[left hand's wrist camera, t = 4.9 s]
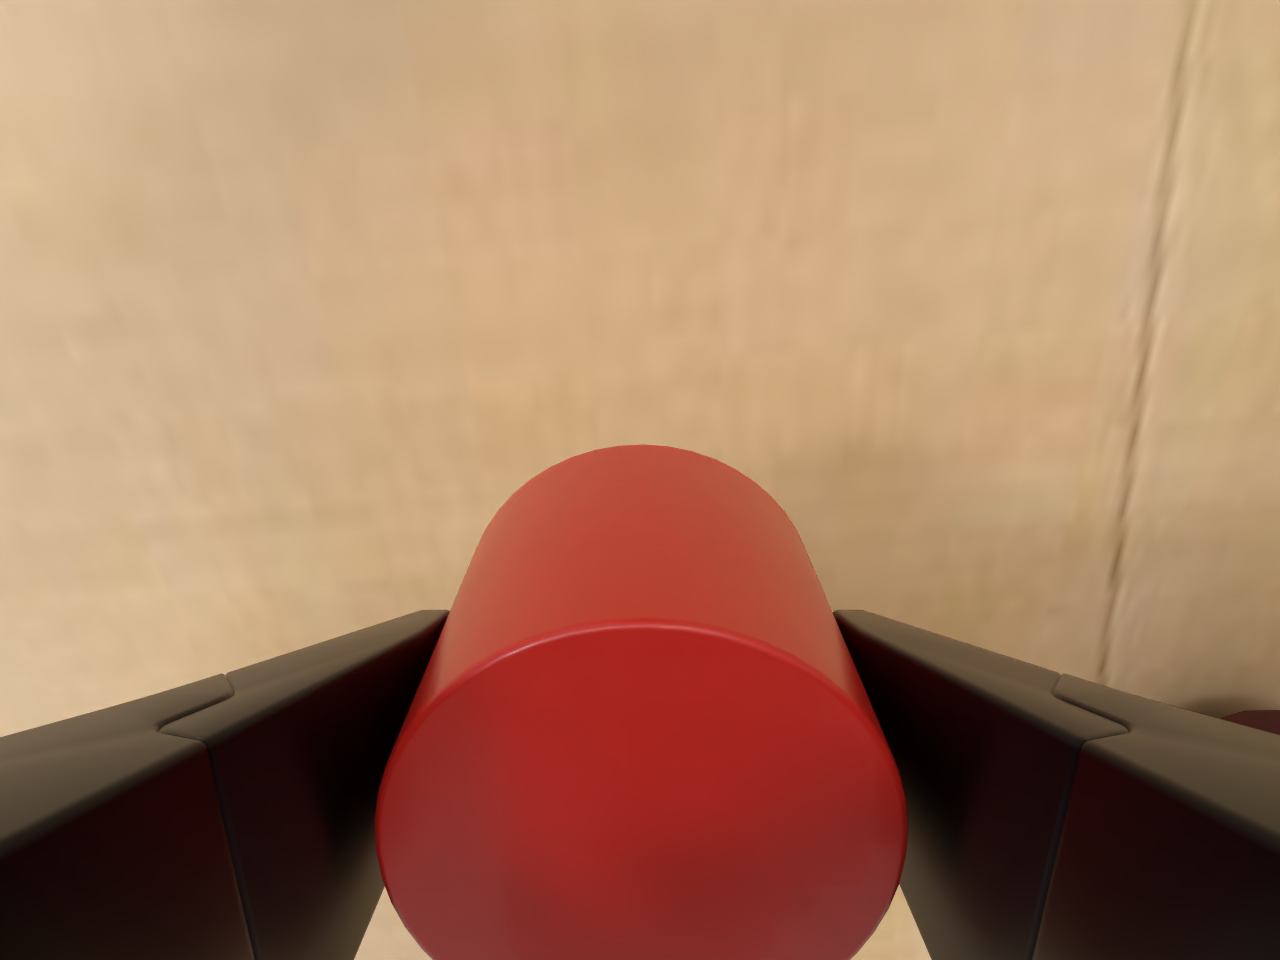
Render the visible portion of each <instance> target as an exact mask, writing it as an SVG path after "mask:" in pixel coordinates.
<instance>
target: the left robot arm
mask: <svg viewBox="0 0 1280 960" xmlns="http://www.w3.org/2000/svg"><path fill="white" fill-rule="evenodd" d="M449 613H450V611H448V610H421V611H418V612H414V613H411V614H408V615H405V616H402V617H399V618H396V619H393V620H390V621H387V622H383V623H380V624H377V625H374V626H371V627H368V628H365V629H362V630H359V631H355V632H352V633H349V634H346V635H343V636H340V637H337V638H334V639H331V640H328V641H324V642H321V643H318V644H315V645H312V646H309V647H306V648H303V649H300V650H297V651H293V652H290V653H287V654H284V655H281V656H278V657H275V658H272V659H269V660H266V661H262V662H259V663H256V664H253V665H250V666H247V667H244V668H241V669H238V670H234V671H231V672H228V673H227V674H226V676H225V675H224V674H218V675H215V676H212V677H209V678H206V679H203V680H200V681H197V682H193V683H190V684H187V685H184V686H180V687H177V688H174V689H171V690H167V691H164V692H161V693H158V694H154V695H151V696H147V697H144V698H140V699H137V700H133V701H130V702H126V703H123V704H119V705H116V706H113V707H109V708H106V709H102V710H98V711H95V712H91V713H87V714H84V715H80V716H76V717H73V718H69V719H66V720H62V721H58V722H55V723H51V724H47V725H44V726H40V727H37V728H33V729H29V730H26V731H22V732H18V733H15V734H11V735H7V736H4V737H0V960H354V958H355V956H356V953H357V951H358V948H359V946H360V944H361V941H362V939H363V937H364V934H365V932H366V929H367V927H368V925H369V922H370V920H371V918H372V915H373V913H374V910H375V908H376V906H377V903H378V901H379V899H380V896H381V894H382V891H383V889H384V887H385V885H384V882H383V879H382V876H381V871H380V866H379V862H378V857H377V852H376V845H375V822H374V818H375V811H376V803H377V795H378V790H379V786H380V783H381V780H382V776H383V773H384V770H385V767H386V764H387V761H388V759H389V756H390V754H391V752H392V749H393V747H394V744H395V742H396V740H397V737H398V735H399V732H400V730H401V728H402V725H403V723H404V720H405V718H406V716H407V713H408V711H409V709H410V706H411V704H412V701H413V699H414V697H415V694H416V692H417V689H418V687H419V685H420V682H421V680H422V677H423V675H424V673H425V670H426V668H427V665H428V663H429V661H430V658H431V656H432V654H433V651H434V649H435V646H436V644H437V642H438V639H439V637H440V634H441V632H442V630H443V627H444V625H445V622H446V620H447V618H448V615H449ZM833 615H834V617H835V620H836V622H837V625H838V627H839V629H840V632H841V634H842V636H843V639H844V641H845V643H846V646H847V648H848V651H849V653H850V655H851V658H852V660H853V662H854V665H855V667H856V669H857V672H858V674H859V677H860V679H861V681H862V684H863V686H864V688H865V691H866V693H867V695H868V698H869V700H870V703H871V705H872V707H873V710H874V712H875V714H876V717H877V719H878V721H879V724H880V726H881V729H882V731H883V733H884V736H885V738H886V740H887V743H888V745H889V747H890V750H891V752H892V755H893V757H894V759H895V762H896V764H897V766H898V769H899V772H900V776H901V779H902V783H903V787H904V791H905V795H906V800H907V812H908V823H909V828H908V840H907V853H906V858H905V862H904V866H903V870H902V874H901V878H900V882H899V884H900V887H901V889H902V891H903V894H904V896H905V898H906V901H907V903H908V905H909V908H910V910H911V912H912V915H913V917H914V919H915V922H916V924H917V926H918V929H919V931H920V933H921V936H922V938H923V940H924V943H925V945H926V947H927V950H928V952H929V955H930V957H931V959H932V960H1280V735H1276V734H1273V733H1269V732H1266V731H1262V730H1258V729H1255V728H1251V727H1247V726H1244V725H1240V724H1236V723H1233V722H1229V721H1225V720H1222V719H1218V718H1214V717H1211V716H1207V715H1203V714H1200V713H1196V712H1192V711H1189V710H1185V709H1181V708H1178V707H1174V706H1171V705H1167V704H1164V703H1160V702H1157V701H1153V700H1150V699H1146V698H1143V697H1139V696H1136V695H1132V694H1129V693H1126V692H1122V691H1119V690H1116V689H1113V688H1109V687H1106V686H1103V685H1099V684H1096V683H1093V682H1090V681H1086V680H1083V679H1080V678H1077V677H1074V676H1071V675H1067V674H1062V675H1061V676H1060V674H1059V673H1057V672H1054V671H1051V670H1048V669H1045V668H1042V667H1039V666H1036V665H1033V664H1029V663H1026V662H1023V661H1020V660H1017V659H1014V658H1011V657H1007V656H1004V655H1001V654H998V653H995V652H992V651H989V650H986V649H982V648H979V647H976V646H973V645H970V644H967V643H964V642H961V641H957V640H954V639H951V638H948V637H945V636H942V635H939V634H935V633H932V632H929V631H926V630H923V629H920V628H917V627H914V626H910V625H907V624H904V623H901V622H898V621H895V620H892V619H889V618H885V617H882V616H879V615H876V614H873V613H870V612H867V611H863V610H836V611H834V612H833Z"/></svg>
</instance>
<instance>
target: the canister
mask: <svg viewBox="0 0 1280 960" xmlns="http://www.w3.org/2000/svg"><path fill="white" fill-rule="evenodd" d="M374 822H375V845H376V852H377V857H378V862H379V866H380V871H381V876H382V879H383V882H384V885H385V887H386V890H387V892H388V895H389V898H390V900H391V903H392V905H393V906H394V908H395V910H396V912H397V913H398V915H399V917H400V919H401V920H402V922H403V924H404V926H405V927H406V929H407V930H408V931H409V933H410V934H411V935H412V936H413V938H414V939H415V940H416V942H417V943H418V944H419V945H420V947H421V948H422V949H423V950H424V951H425V952H426V953H427V954H428V955H429V956H430V957H431V958H432V959H433V960H850V959H851V958H852V957H853V956H854V955H855V954H856V953H857V952H858V951H859V950H860V949H861V947H862V946H863V945H864V944H865V942H866V941H867V940H868V939H869V938H870V936H871V935H872V934H873V933H874V931H875V930H876V928H877V927H878V925H879V923H880V922H881V920H882V918H883V917H884V915H885V913H886V912H887V910H888V909H889V906H890V904H891V902H892V899H893V897H894V895H895V892H896V890H897V887H898V885H899V882H900V878H901V874H902V870H903V866H904V862H905V858H906V853H907V840H908V828H909V823H908V812H907V800H906V795H905V791H904V787H903V783H902V779H901V776H900V772H899V769H898V766H897V764H896V762H895V759H894V757H893V755H892V752H891V750H890V747H889V745H888V743H887V740H886V738H885V736H884V733H883V731H882V729H881V726H880V724H879V721H878V719H877V717H876V714H875V712H874V710H873V707H872V705H871V703H870V700H869V698H868V695H867V693H866V691H865V688H864V686H863V684H862V681H861V679H860V677H859V674H858V672H857V669H856V667H855V665H854V662H853V660H852V658H851V655H850V653H849V651H848V648H847V646H846V643H845V641H844V639H843V636H842V634H841V632H840V629H839V627H838V625H837V622H836V620H835V617H834V615H833V613H832V610H831V608H830V606H829V603H828V601H827V598H826V596H825V594H824V591H823V589H822V587H821V584H820V582H819V580H818V577H817V575H816V572H815V570H814V568H813V565H812V563H811V561H810V558H809V556H808V554H807V551H806V549H805V547H804V545H803V542H802V540H801V538H800V536H799V533H798V531H797V530H796V528H795V527H794V525H793V524H792V522H791V520H790V519H789V517H788V516H787V514H786V513H785V512H784V511H783V509H782V508H781V507H780V506H779V505H778V504H777V502H776V501H775V500H774V499H773V498H772V497H771V496H770V495H769V494H768V493H767V492H766V491H764V490H763V489H762V488H761V487H760V486H759V485H758V484H756V483H755V482H754V481H752V480H751V479H749V478H748V477H746V476H745V475H743V474H742V473H740V472H739V471H737V470H736V469H734V468H732V467H730V466H728V465H726V464H724V463H722V462H720V461H717V460H715V459H713V458H710V457H707V456H704V455H701V454H698V453H695V452H692V451H688V450H683V449H678V448H673V447H667V446H654V445H627V446H616V447H610V448H604V449H599V450H594V451H591V452H587V453H584V454H581V455H578V456H574V457H572V458H569V459H567V460H565V461H563V462H561V463H558V464H556V465H554V466H552V467H550V468H548V469H547V470H545V471H543V472H542V473H540V474H539V475H537V476H535V477H534V478H532V479H531V480H530V481H528V482H527V483H526V484H525V485H523V486H522V487H521V488H520V489H519V490H517V491H516V492H515V493H514V494H513V495H512V496H511V497H510V498H509V499H508V500H507V501H506V503H505V504H504V505H503V506H502V507H501V508H500V509H499V510H498V512H497V513H496V515H495V516H494V517H493V519H492V520H491V522H490V523H489V525H488V526H487V528H486V530H485V532H484V534H483V536H482V538H481V540H480V542H479V544H478V546H477V548H476V551H475V553H474V555H473V558H472V560H471V563H470V565H469V567H468V570H467V572H466V575H465V577H464V579H463V582H462V584H461V587H460V589H459V591H458V594H457V596H456V599H455V601H454V603H453V606H452V608H451V610H450V613H449V615H448V618H447V620H446V622H445V625H444V627H443V630H442V632H441V634H440V637H439V639H438V642H437V644H436V646H435V649H434V651H433V654H432V656H431V658H430V661H429V663H428V665H427V668H426V670H425V673H424V675H423V677H422V680H421V682H420V685H419V687H418V689H417V692H416V694H415V697H414V699H413V701H412V704H411V706H410V709H409V711H408V713H407V716H406V718H405V720H404V723H403V725H402V728H401V730H400V732H399V735H398V737H397V740H396V742H395V744H394V747H393V749H392V752H391V754H390V756H389V759H388V761H387V764H386V767H385V770H384V773H383V776H382V780H381V783H380V786H379V790H378V795H377V803H376V811H375V818H374Z"/></svg>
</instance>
